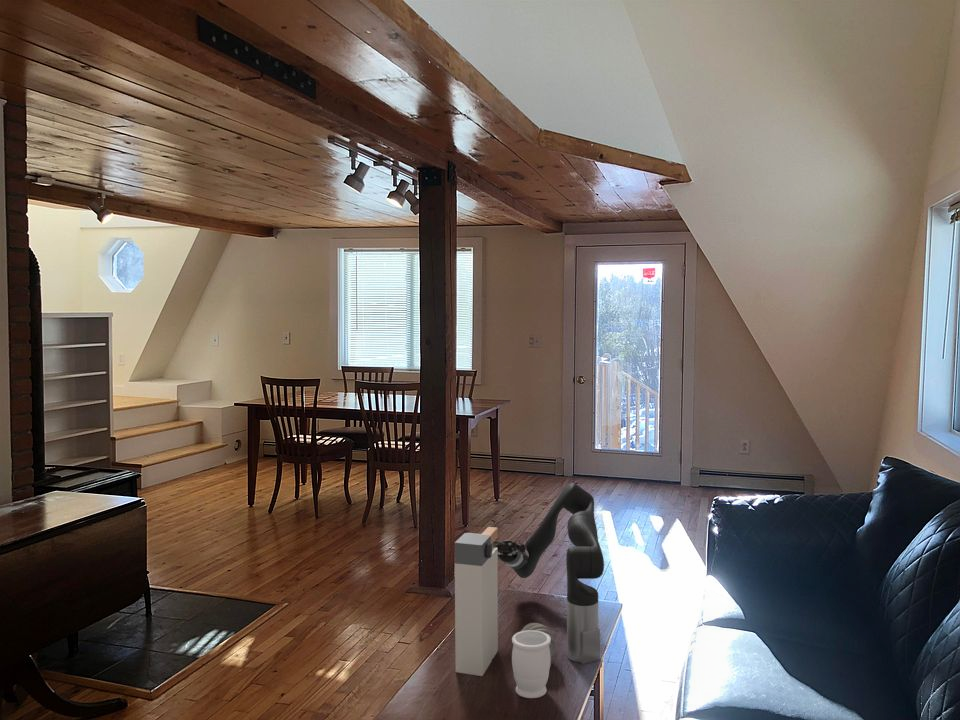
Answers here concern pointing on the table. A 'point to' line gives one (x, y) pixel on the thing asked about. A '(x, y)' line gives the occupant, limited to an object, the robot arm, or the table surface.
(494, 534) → the tan piece
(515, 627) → the table surface
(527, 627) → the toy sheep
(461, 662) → the pedestal
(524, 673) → the jar
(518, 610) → the table surface
